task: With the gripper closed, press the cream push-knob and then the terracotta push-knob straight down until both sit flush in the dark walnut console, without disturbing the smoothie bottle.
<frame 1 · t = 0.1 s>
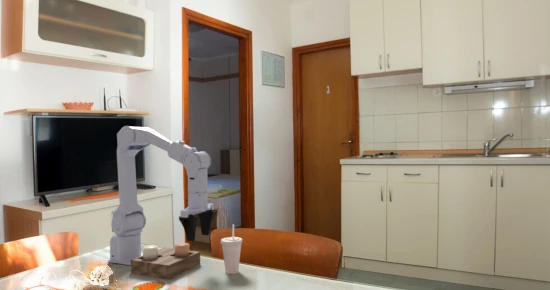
hand: (198, 237, 116), 10 cm above the table, tool pointing down, fingers open, 7 cm apart
console: (166, 268, 118), on the table
knob terracotta: (182, 250, 120), point 5 cm above the table, slide at 0.0 cm
smoothie: (231, 272, 115), on the table
knob cream: (150, 252, 117), point 5 cm above the table, slide at 0.0 cm
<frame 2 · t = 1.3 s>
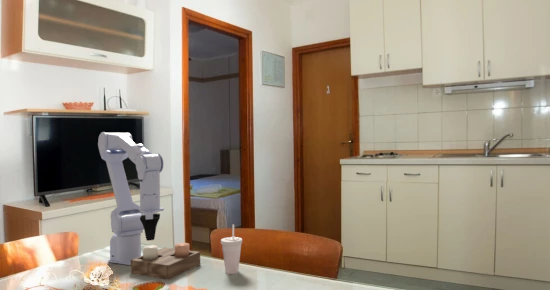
hand: (150, 239, 117), 9 cm above the table, tool pointing down, fingers closed
nothing on the table moved.
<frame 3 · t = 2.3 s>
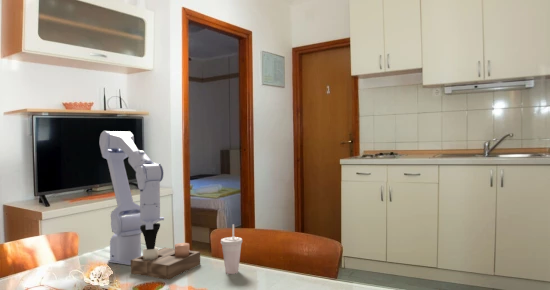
hand: (150, 248, 117), 7 cm above the table, tool pointing down, fingers closed, pressing on knob cream
knob cream: (150, 254, 117), point 5 cm above the table, slide at 0.4 cm, touching gripper
everything else where it was.
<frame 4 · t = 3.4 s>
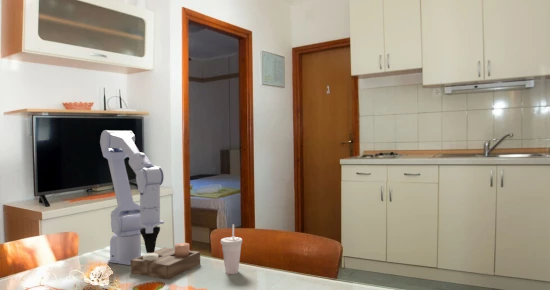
hand: (150, 252, 117), 5 cm above the table, tool pointing down, fingers closed
knob cream: (150, 261, 117), point 3 cm above the table, slide at 2.5 cm
everything else where it was.
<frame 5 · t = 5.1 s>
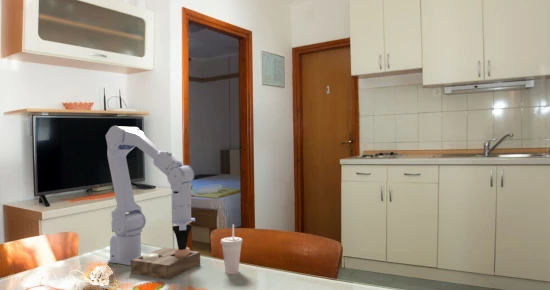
hand: (182, 249, 120), 6 cm above the table, tool pointing down, fingers closed, pressing on knob terracotta
knob terracotta: (182, 254, 120), point 4 cm above the table, slide at 1.3 cm, touching gripper
everything else where it was.
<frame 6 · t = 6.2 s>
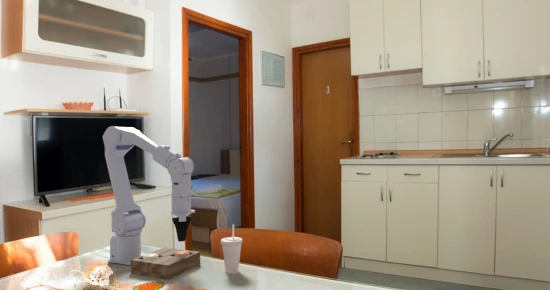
hand: (181, 240, 120), 8 cm above the table, tool pointing down, fingers closed
knob terracotta: (182, 258, 120), point 3 cm above the table, slide at 2.5 cm
everything else where it was.
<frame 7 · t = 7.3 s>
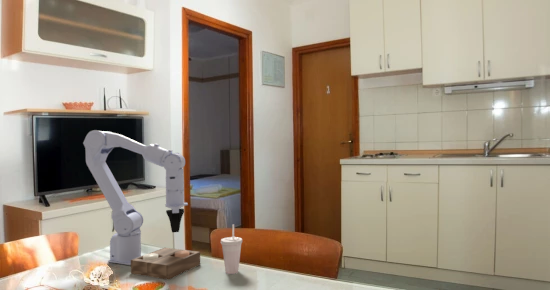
hand: (175, 231, 127), 9 cm above the table, tool pointing down, fingers closed
nothing on the table moved.
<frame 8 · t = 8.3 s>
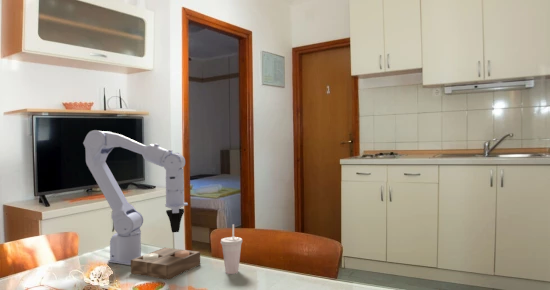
hand: (175, 231, 127), 9 cm above the table, tool pointing down, fingers closed
nothing on the table moved.
at the end: knob cream slide at 2.5 cm; knob terracotta slide at 2.5 cm; smoothie moved 0.2 cm from its start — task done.
